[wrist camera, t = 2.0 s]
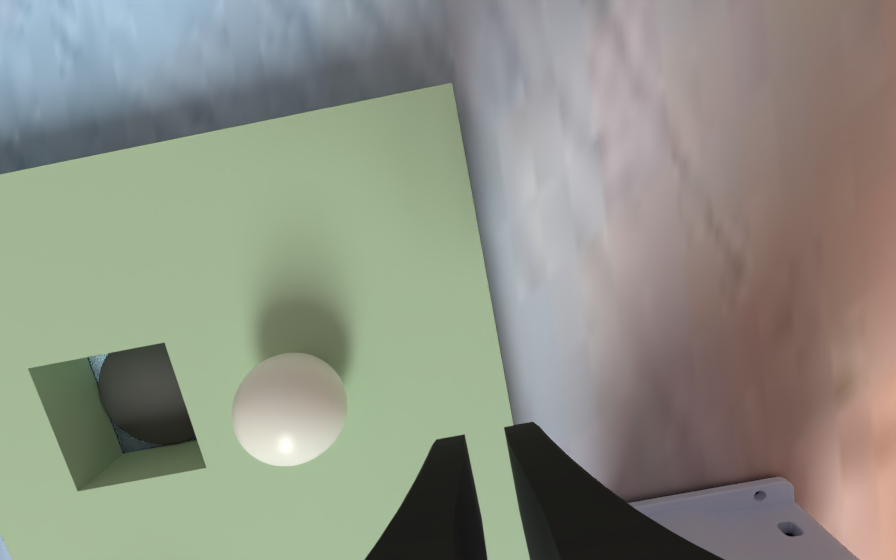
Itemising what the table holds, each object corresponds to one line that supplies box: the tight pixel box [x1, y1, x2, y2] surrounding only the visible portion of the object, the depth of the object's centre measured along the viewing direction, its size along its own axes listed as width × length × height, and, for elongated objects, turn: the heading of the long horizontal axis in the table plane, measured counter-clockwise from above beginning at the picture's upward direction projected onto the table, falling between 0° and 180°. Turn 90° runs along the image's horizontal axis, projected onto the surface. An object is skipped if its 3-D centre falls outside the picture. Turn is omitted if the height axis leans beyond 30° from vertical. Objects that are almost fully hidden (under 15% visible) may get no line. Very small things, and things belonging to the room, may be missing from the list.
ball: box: [231, 353, 347, 466], centre depth 15 cm, size 4×4×4 cm
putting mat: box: [0, 83, 530, 560], centre depth 18 cm, size 20×18×2 cm
